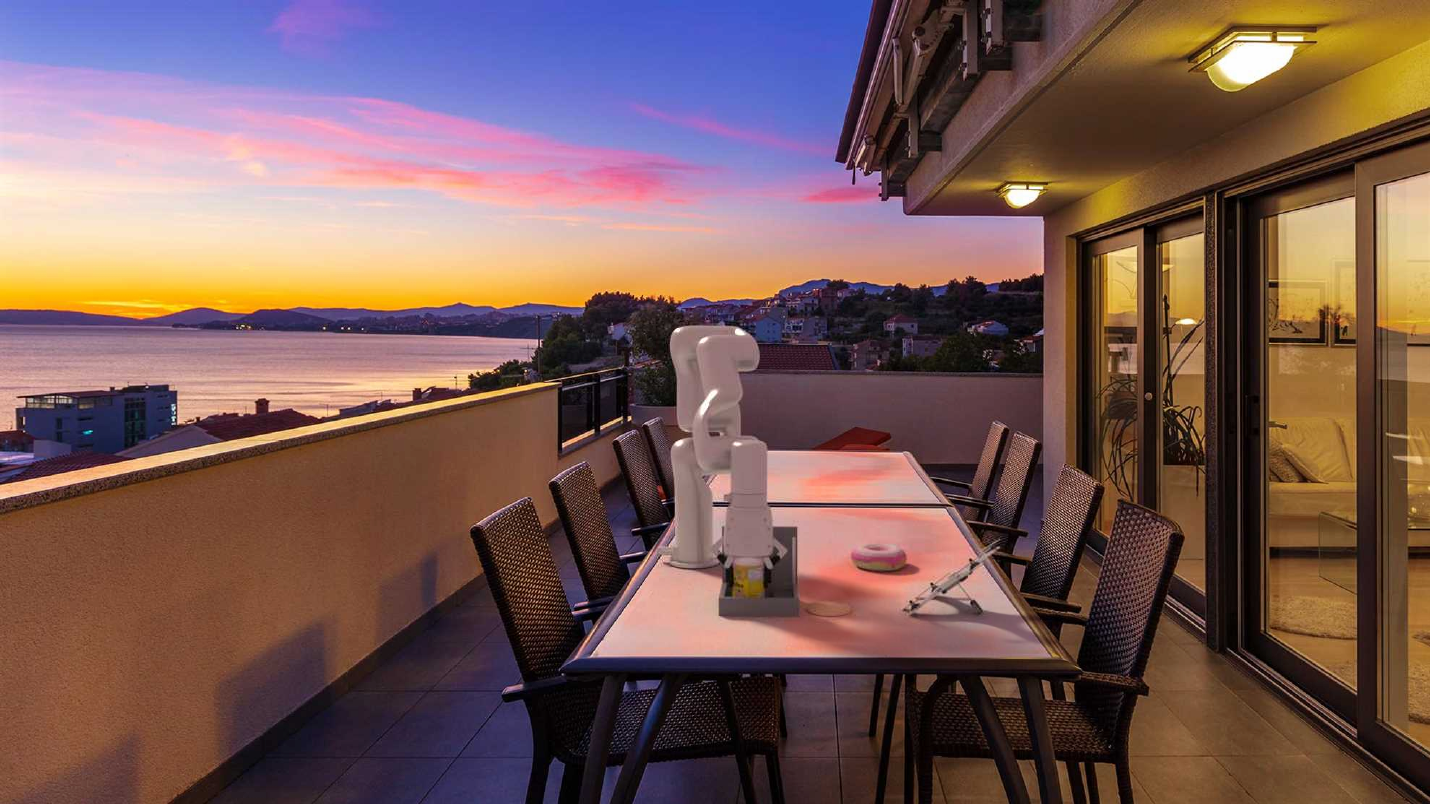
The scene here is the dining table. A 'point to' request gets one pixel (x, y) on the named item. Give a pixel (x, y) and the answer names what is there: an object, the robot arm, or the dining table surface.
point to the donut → (878, 557)
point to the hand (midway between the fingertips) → (748, 585)
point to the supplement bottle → (748, 577)
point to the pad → (828, 608)
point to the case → (779, 592)
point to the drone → (956, 581)
